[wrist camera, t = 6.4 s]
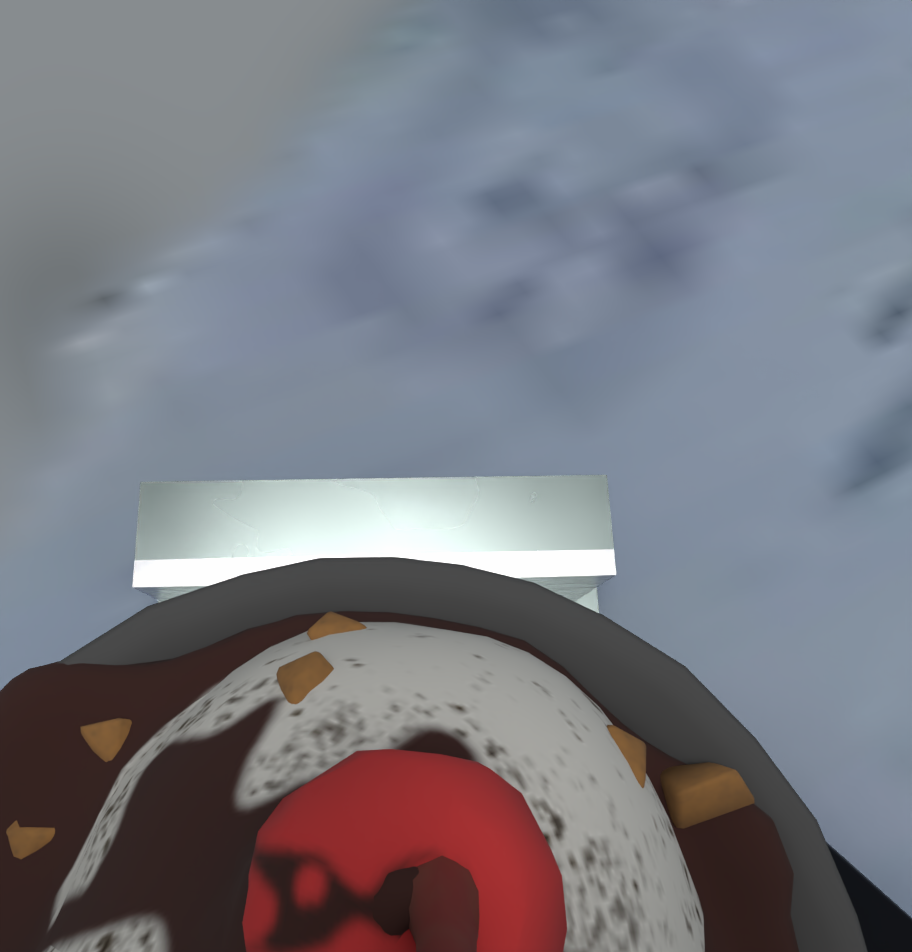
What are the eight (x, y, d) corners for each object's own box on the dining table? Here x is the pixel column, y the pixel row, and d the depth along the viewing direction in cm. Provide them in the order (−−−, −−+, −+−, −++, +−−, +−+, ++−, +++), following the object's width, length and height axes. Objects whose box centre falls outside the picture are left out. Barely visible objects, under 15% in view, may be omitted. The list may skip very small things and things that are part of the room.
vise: (650, 1354, 16) (747, 1592, 11) (120, 1411, 15) (9, 1691, 11) (581, 526, 20) (631, 474, 16) (174, 534, 20) (113, 482, 15)
